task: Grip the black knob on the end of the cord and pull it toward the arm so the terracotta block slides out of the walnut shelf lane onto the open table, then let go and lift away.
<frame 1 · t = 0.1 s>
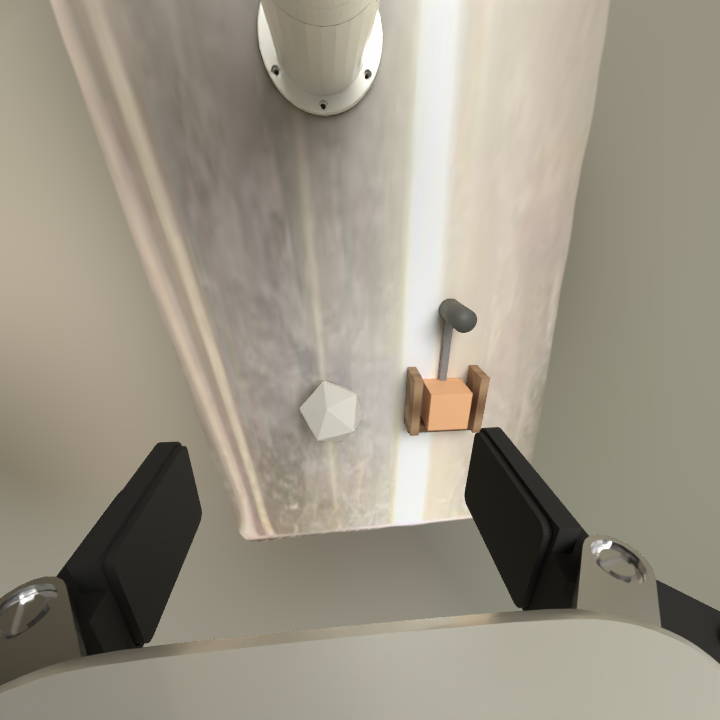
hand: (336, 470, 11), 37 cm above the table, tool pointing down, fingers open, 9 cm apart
shelf lane: (439, 392, 53), on the table
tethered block: (439, 395, 53), on the table
die: (331, 397, 52), on the table
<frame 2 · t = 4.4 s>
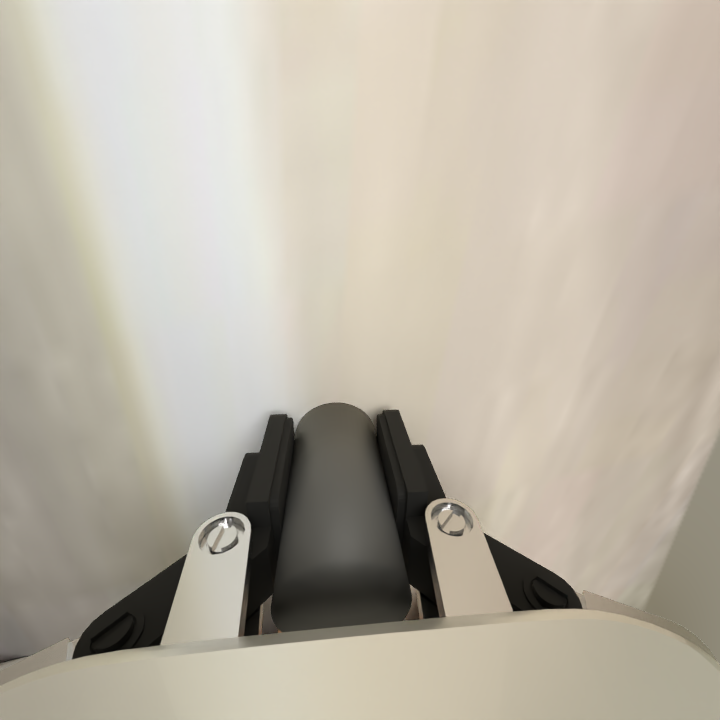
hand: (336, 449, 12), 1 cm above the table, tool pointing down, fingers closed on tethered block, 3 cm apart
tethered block: (339, 651, 18), on the table, touching gripper
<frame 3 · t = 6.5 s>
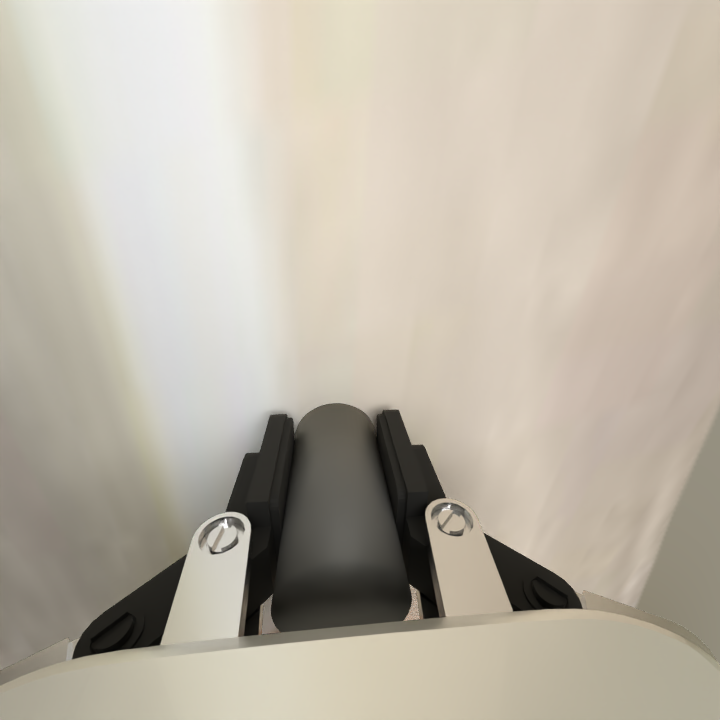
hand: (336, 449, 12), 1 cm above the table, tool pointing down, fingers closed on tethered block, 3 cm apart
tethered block: (342, 652, 18), on the table, touching gripper
when the fingers open (1 cm above the table, at t = 8.7 s): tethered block stays where it is, on the table.
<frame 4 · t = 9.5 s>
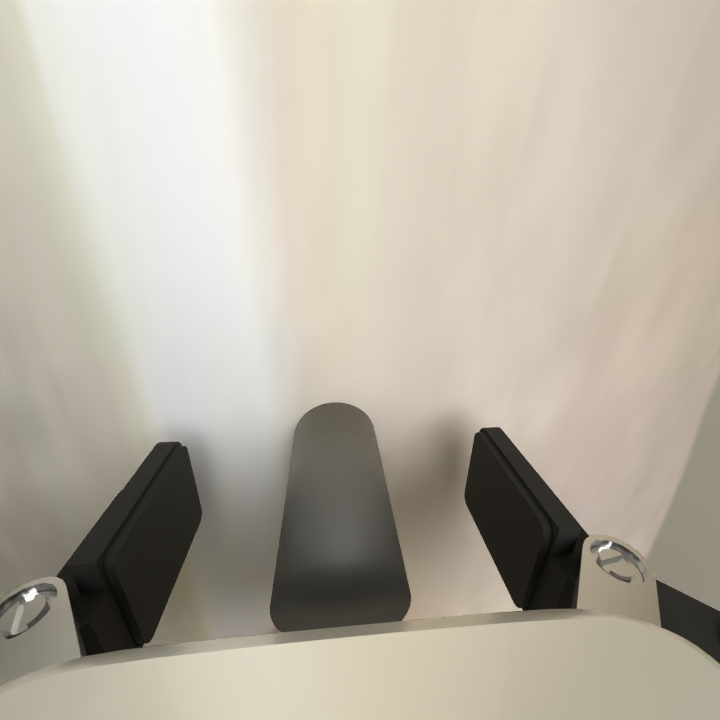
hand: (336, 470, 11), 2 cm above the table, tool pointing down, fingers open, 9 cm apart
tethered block: (341, 651, 18), on the table
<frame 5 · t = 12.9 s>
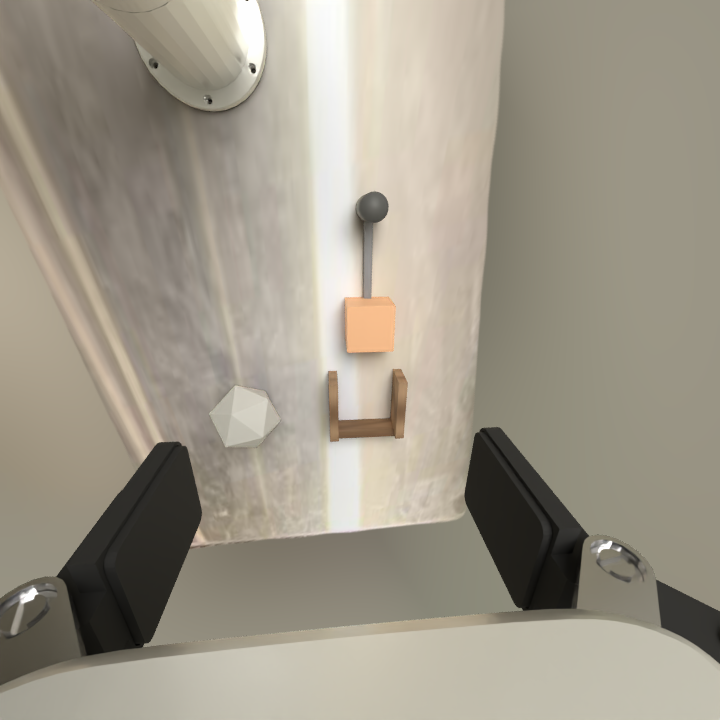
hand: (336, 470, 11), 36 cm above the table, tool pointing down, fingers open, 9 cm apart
shelf lane: (364, 397, 52), on the table
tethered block: (366, 318, 47), on the table
die: (252, 402, 51), on the table
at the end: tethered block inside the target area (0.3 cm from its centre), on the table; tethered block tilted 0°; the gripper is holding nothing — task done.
